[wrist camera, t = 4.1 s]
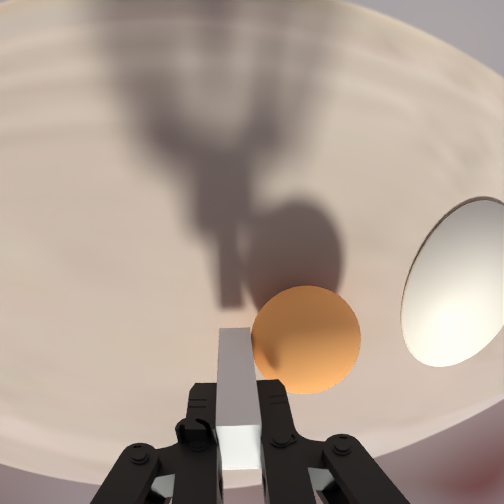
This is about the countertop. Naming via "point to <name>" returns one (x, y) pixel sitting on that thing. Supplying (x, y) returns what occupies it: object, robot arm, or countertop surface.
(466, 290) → the white plate
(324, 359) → the ball
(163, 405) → the countertop surface
